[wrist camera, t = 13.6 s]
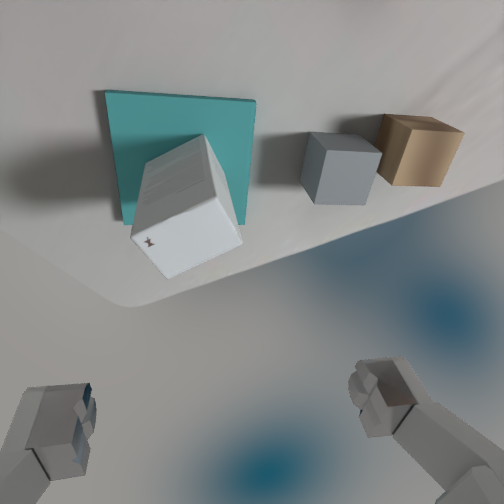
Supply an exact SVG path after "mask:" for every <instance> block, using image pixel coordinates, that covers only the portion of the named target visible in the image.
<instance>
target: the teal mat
mask: <svg viewBox="0 0 504 504" xmlns="http://www.w3.org/2000/svg"><path fill="white" fill-rule="evenodd" d="M105 98H106V105H107V112H108V119H109V125H110V132H111V139H112V146H113V153H114V160H115V167H116V174H117V181H118V188H119V195H120V202H121V209H122V216H123V223H124V225H133V221H134V216H135V211H136V206H137V202H138V196H139V192H140V187H141V182H142V177H143V172H144V168H145V163H147V162H149V161H151V160H153V159H155V158H157V157H159V156H161V155H163V154H165V153H167V152H169V151H171V150H173V149H175V148H176V147H179V146H180V145H182V144H184V143H186V142H188V141H190V140H192V139H194V138H196V137H198V136H200V135H202V134H204V135H205V136H206V138H207V140H208V142H209V144H210V146H211V148H212V150H213V152H214V154H215V156H216V158H217V160H218V162H219V163H220V165H221V167H222V169H223V171H224V173H225V177H226V181H227V185H228V189H229V192H230V196H231V200H232V204H233V208H234V211H235V215H236V219H237V222H238V225H245V216H246V206H247V195H248V185H249V175H250V164H251V154H252V143H253V133H254V123H255V112H256V101H255V100H252V99H237V98H222V97H207V96H192V95H177V94H162V93H147V92H133V91H118V90H106V92H105Z"/></svg>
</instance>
